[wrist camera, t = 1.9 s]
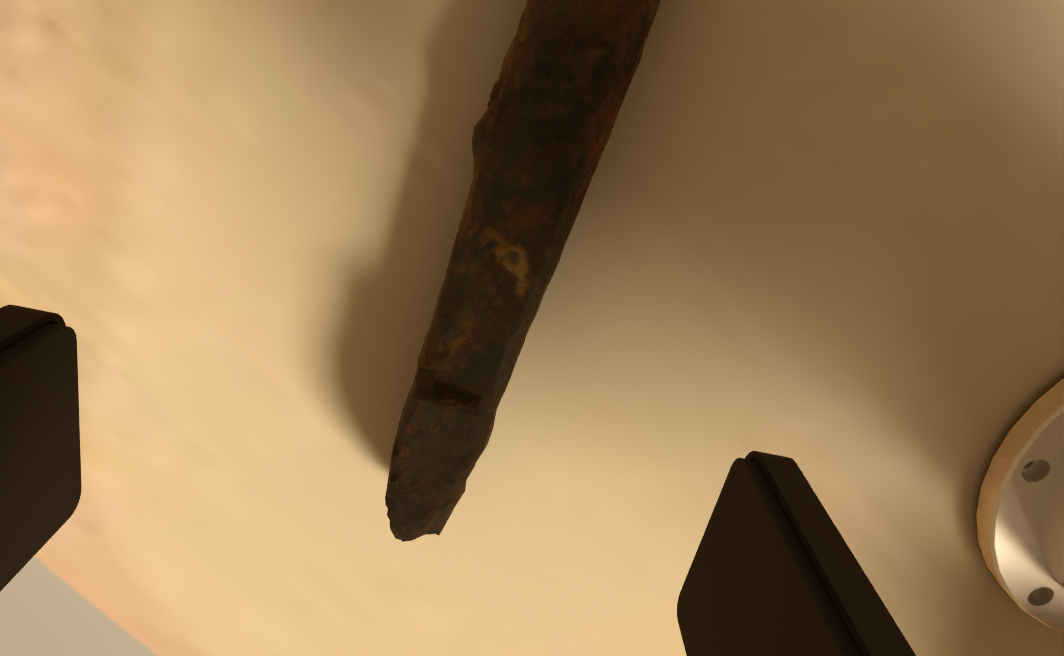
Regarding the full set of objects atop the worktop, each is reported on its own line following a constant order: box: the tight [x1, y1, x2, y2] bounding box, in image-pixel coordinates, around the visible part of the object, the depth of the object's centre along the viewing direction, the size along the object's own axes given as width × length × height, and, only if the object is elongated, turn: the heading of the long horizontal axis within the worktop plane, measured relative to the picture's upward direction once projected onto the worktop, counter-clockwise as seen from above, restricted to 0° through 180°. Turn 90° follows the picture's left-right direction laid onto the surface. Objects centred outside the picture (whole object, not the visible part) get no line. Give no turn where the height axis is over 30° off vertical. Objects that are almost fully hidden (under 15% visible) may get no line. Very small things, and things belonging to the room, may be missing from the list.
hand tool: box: [385, 0, 661, 542], centre depth 19 cm, size 19×4×5 cm, turn 158°
